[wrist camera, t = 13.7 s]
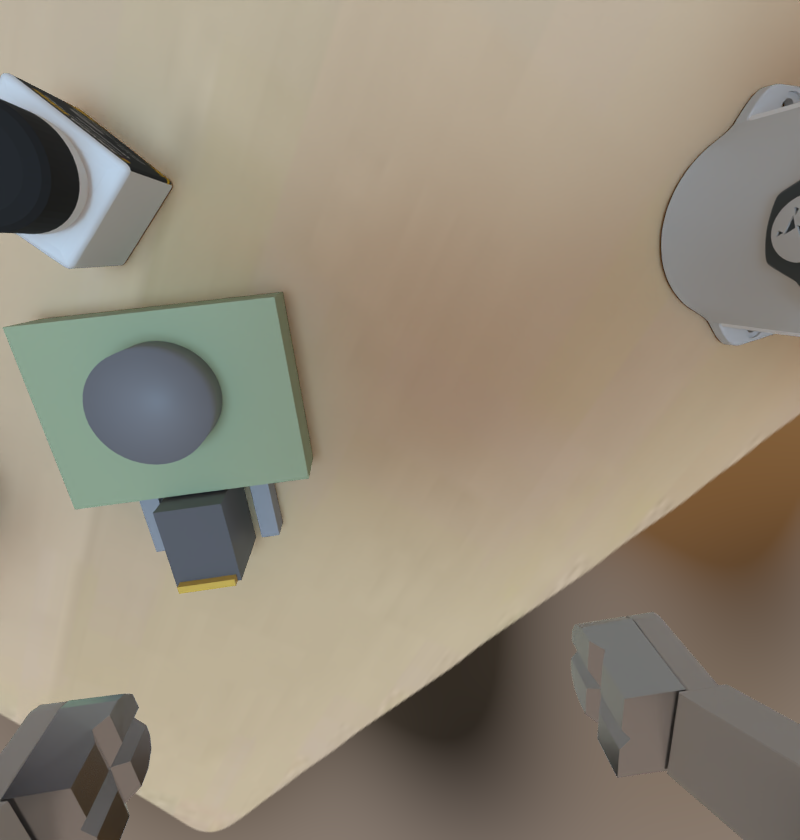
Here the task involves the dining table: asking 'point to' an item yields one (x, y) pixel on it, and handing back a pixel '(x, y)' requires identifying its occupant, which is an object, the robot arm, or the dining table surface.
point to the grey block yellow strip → (206, 538)
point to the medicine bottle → (70, 181)
